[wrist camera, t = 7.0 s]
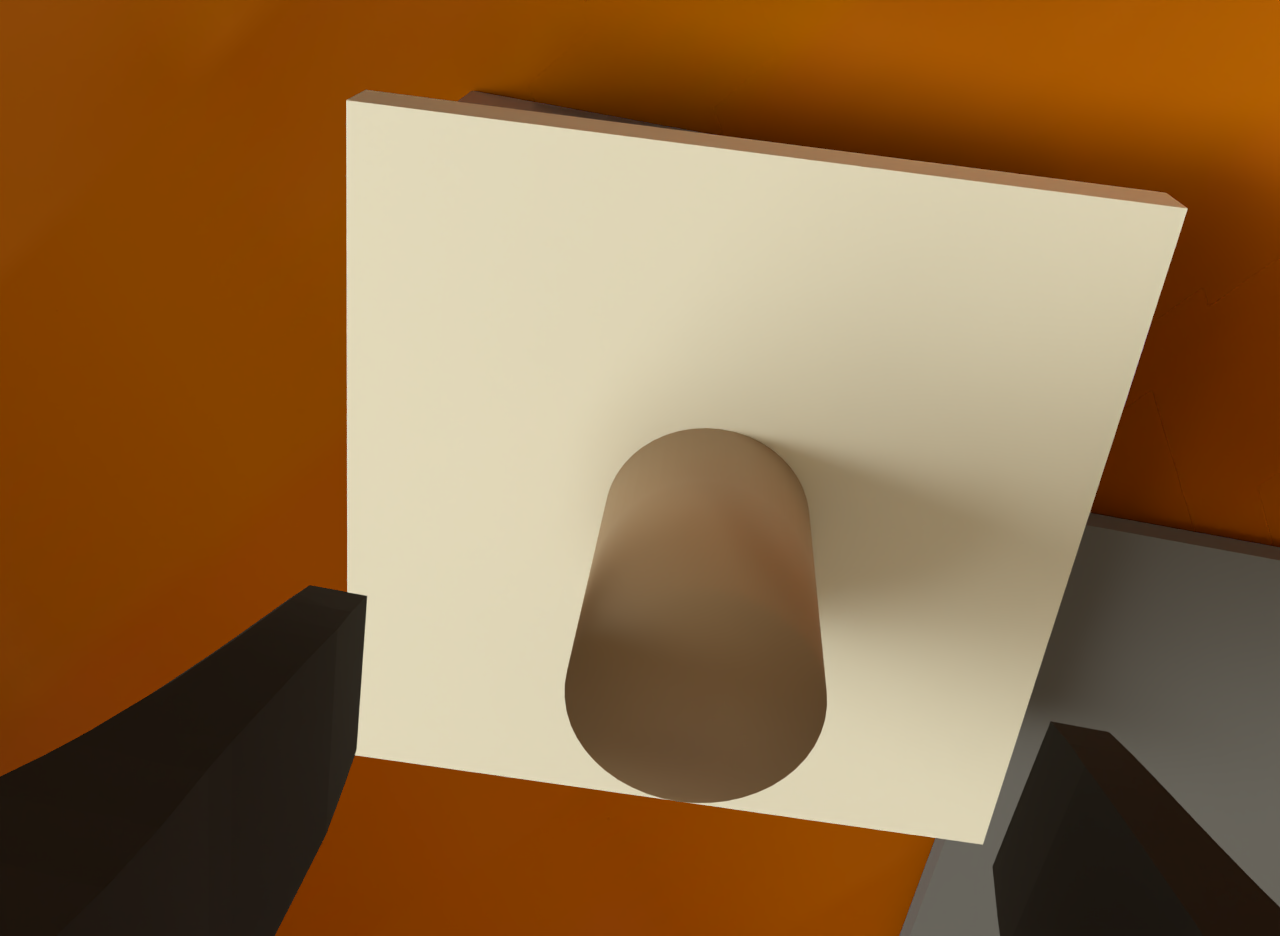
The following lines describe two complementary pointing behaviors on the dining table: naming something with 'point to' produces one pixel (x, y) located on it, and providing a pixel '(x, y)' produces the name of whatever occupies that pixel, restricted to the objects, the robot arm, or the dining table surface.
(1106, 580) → the mat
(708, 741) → the lid
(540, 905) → the dining table surface
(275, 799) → the robot arm
